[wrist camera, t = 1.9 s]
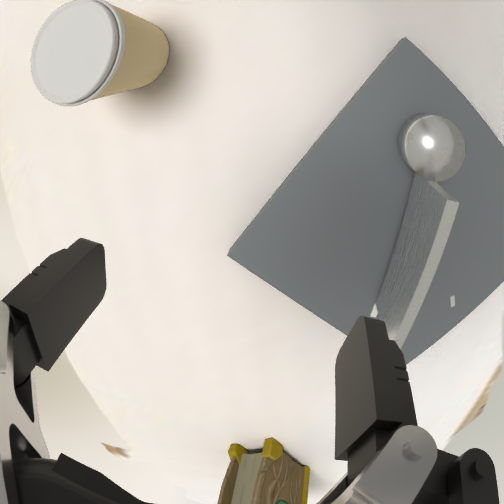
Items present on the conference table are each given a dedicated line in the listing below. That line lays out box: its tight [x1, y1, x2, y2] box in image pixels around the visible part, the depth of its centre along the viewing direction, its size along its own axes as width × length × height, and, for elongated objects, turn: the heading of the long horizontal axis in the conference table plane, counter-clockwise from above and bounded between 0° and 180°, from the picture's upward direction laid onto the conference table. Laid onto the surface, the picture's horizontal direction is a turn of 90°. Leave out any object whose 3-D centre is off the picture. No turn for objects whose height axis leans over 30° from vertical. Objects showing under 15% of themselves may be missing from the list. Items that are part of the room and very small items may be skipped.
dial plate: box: [227, 37, 504, 364], centre depth 33 cm, size 30×30×2 cm
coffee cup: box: [31, 0, 169, 106], centre depth 23 cm, size 9×9×12 cm
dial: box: [376, 113, 465, 349], centre depth 27 cm, size 22×6×8 cm, turn 175°
